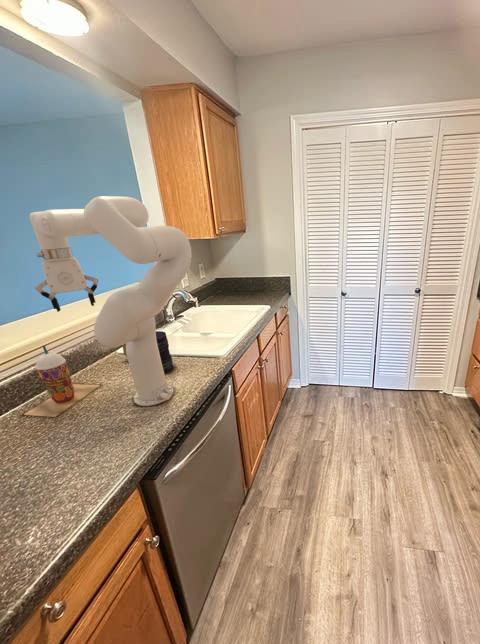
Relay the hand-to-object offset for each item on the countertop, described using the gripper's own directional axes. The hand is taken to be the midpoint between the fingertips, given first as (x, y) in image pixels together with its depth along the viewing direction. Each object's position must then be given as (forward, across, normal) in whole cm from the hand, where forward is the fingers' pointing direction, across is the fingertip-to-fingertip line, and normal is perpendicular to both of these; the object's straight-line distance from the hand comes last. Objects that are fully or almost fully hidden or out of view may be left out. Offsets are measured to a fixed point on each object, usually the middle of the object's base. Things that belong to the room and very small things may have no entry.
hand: (76, 307), depth 107 cm
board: (+30, -12, -2) cm, 32 cm away
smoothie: (+30, -12, -2) cm, 32 cm away
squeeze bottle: (+30, +13, +20) cm, 39 cm away
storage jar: (+30, +21, +1) cm, 37 cm away
